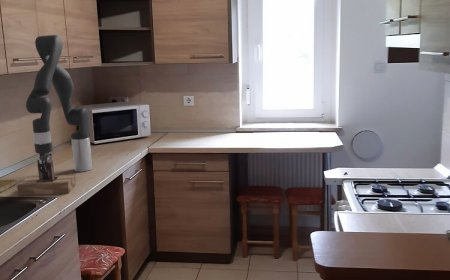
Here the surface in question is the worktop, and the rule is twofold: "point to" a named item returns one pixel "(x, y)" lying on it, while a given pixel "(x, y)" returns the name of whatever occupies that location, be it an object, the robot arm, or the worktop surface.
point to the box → (50, 173)
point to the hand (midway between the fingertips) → (47, 178)
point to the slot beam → (46, 186)
